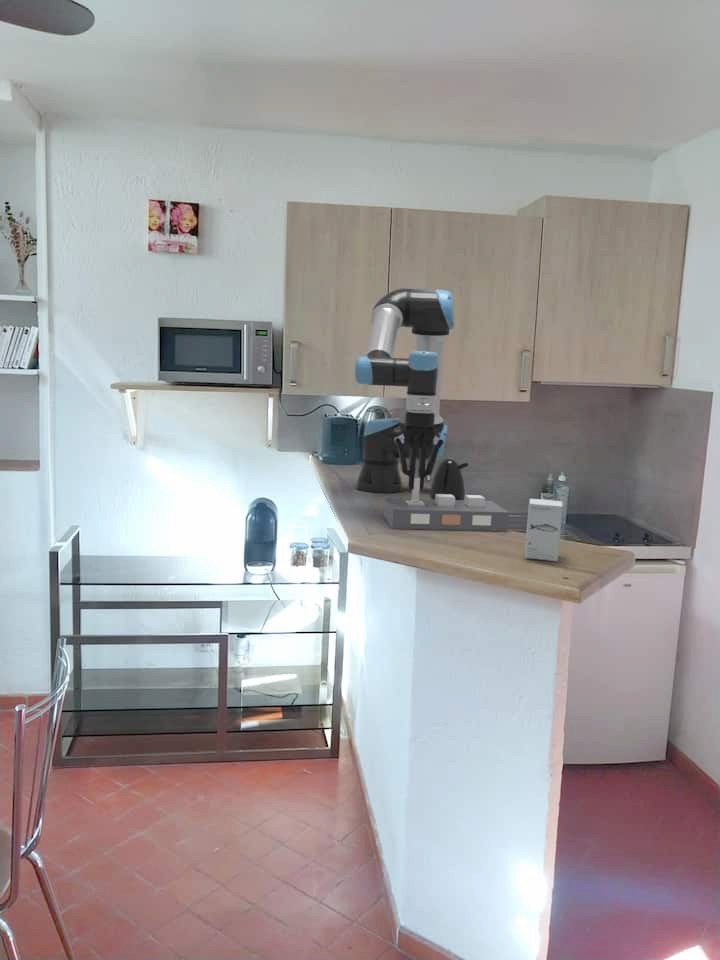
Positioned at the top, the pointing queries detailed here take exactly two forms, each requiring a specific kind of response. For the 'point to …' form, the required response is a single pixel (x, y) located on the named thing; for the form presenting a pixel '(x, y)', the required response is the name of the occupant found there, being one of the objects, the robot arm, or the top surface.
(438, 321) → the robot arm
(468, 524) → the console
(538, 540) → the supplement box
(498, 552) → the top surface
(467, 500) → the button
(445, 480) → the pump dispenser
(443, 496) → the button
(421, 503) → the button
